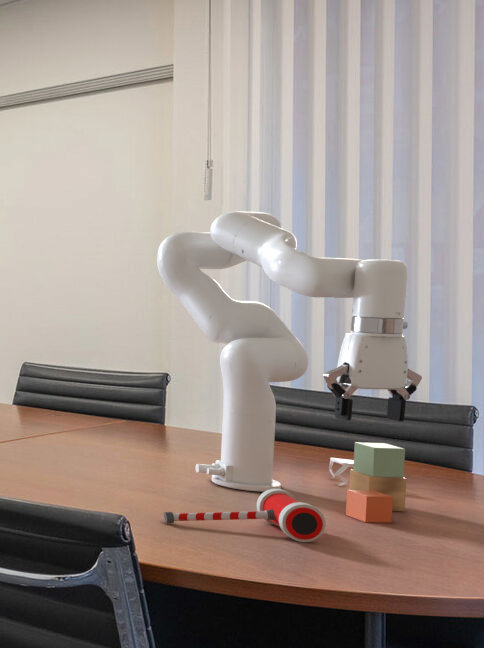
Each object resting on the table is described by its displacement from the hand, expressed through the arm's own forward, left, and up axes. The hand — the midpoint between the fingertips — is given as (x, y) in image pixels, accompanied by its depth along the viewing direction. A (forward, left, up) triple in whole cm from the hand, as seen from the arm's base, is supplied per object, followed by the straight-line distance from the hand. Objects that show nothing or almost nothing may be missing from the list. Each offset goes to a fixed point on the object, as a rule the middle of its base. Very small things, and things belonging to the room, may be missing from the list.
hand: (369, 419), depth 156 cm
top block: (0, -1, -18) cm, 18 cm away
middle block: (+7, +9, -12) cm, 17 cm away
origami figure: (+13, +28, -19) cm, 36 cm away
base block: (+7, +9, -18) cm, 22 cm away
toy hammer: (-25, -14, -19) cm, 34 cm away
